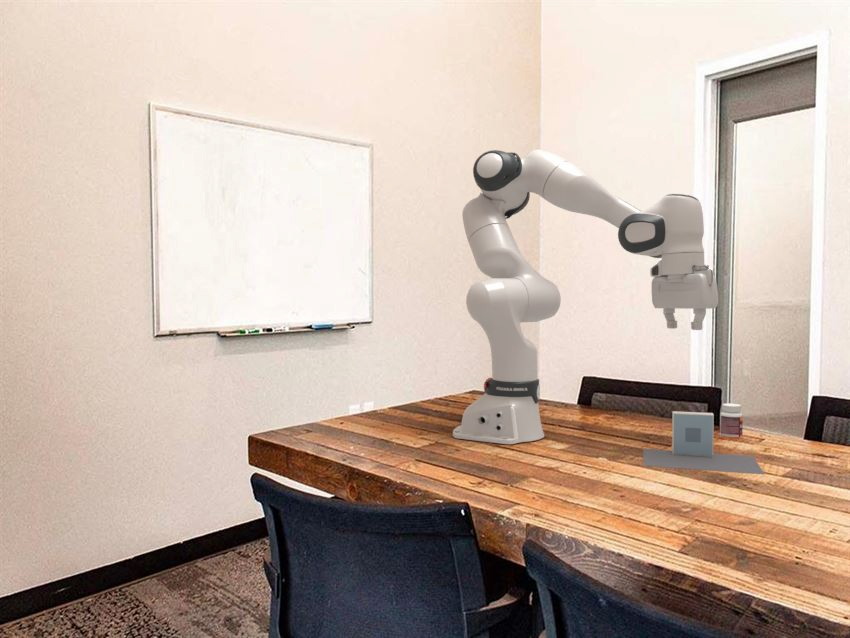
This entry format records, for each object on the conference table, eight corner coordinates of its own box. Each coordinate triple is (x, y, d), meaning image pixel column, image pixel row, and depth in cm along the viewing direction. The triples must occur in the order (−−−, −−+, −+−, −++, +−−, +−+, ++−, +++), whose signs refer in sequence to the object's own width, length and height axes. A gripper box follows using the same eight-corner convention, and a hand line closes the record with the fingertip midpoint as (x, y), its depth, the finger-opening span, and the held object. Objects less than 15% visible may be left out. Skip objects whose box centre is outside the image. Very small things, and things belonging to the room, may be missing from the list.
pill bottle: (744, 442, 151) (745, 406, 150) (723, 441, 152) (723, 406, 151) (739, 437, 155) (739, 403, 155) (718, 436, 156) (718, 402, 156)
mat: (643, 468, 130) (643, 465, 130) (643, 451, 144) (643, 448, 144) (764, 477, 124) (764, 474, 124) (752, 458, 137) (752, 455, 137)
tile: (672, 454, 138) (673, 413, 138) (672, 452, 140) (672, 411, 140) (713, 457, 136) (713, 414, 135) (712, 454, 138) (712, 413, 137)
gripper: (725, 263, 134) (726, 330, 134) (670, 269, 154) (671, 327, 154) (698, 264, 133) (699, 331, 133) (646, 269, 153) (647, 328, 153)
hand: (684, 329), depth 144 cm, fingers open, 8 cm apart
